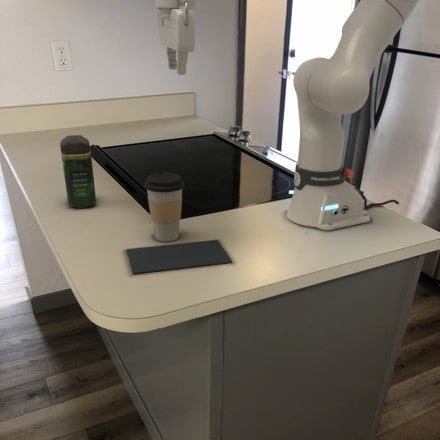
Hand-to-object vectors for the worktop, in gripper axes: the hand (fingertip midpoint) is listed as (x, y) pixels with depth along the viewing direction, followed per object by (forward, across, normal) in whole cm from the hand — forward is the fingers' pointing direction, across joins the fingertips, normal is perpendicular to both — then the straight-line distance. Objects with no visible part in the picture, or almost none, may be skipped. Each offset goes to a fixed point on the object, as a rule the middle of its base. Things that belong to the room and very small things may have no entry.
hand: (176, 71), depth 108 cm
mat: (+37, -18, +4) cm, 41 cm away
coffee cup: (+37, -6, +4) cm, 38 cm away
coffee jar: (+37, +23, +23) cm, 50 cm away
